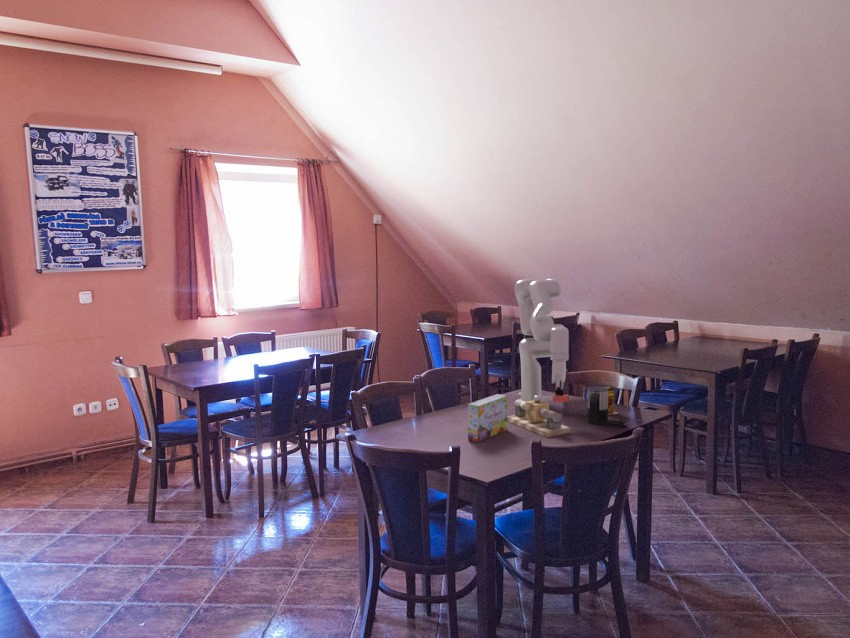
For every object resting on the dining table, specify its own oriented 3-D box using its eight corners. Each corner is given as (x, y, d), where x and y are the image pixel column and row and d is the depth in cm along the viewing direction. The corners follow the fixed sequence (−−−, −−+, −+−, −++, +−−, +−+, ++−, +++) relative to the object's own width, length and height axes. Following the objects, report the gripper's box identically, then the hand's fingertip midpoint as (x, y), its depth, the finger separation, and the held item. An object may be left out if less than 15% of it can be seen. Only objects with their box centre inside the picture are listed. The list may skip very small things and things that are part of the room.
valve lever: (534, 402, 268) (534, 396, 268) (533, 401, 270) (533, 395, 270) (568, 401, 268) (568, 395, 267) (567, 400, 270) (567, 394, 270)
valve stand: (506, 420, 280) (506, 397, 279) (529, 416, 286) (528, 393, 284) (546, 437, 255) (546, 411, 254) (570, 432, 261) (570, 407, 259)
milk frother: (586, 418, 280) (586, 385, 278) (623, 419, 277) (623, 386, 276) (588, 428, 266) (588, 393, 265) (627, 428, 264) (628, 393, 262)
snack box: (479, 443, 251) (478, 405, 249) (467, 440, 254) (466, 403, 252) (508, 430, 267) (507, 394, 265) (496, 427, 270) (496, 393, 269)
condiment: (605, 416, 284) (605, 389, 282) (593, 411, 291) (593, 385, 290) (618, 413, 286) (618, 387, 285) (606, 409, 294) (606, 384, 293)
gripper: (552, 352, 278) (552, 393, 280) (548, 359, 264) (548, 402, 266) (570, 353, 275) (570, 394, 278) (566, 359, 261) (566, 403, 264)
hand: (559, 398), depth 272 cm, fingers closed
